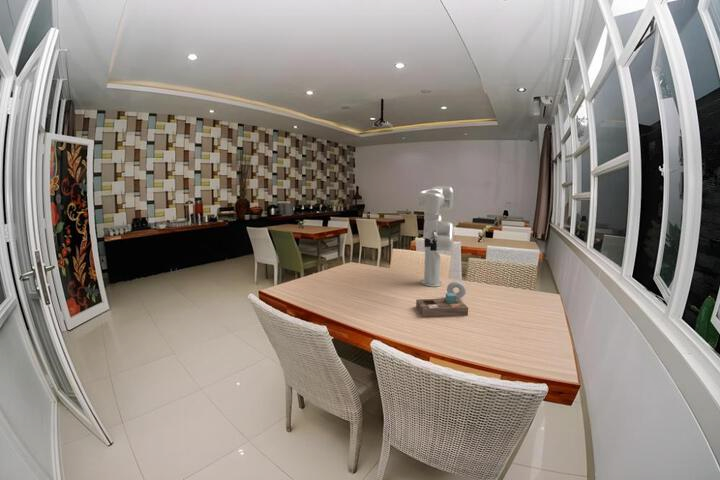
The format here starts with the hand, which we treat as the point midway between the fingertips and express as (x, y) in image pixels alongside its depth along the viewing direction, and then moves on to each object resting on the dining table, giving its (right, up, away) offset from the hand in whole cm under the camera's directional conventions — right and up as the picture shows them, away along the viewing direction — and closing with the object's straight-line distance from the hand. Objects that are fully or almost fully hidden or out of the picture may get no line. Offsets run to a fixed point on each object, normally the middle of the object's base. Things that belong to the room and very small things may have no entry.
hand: (430, 248), depth 154 cm
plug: (+8, -30, -10) cm, 33 cm away
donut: (+15, -28, +4) cm, 32 cm away
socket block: (+2, -31, -12) cm, 33 cm away
